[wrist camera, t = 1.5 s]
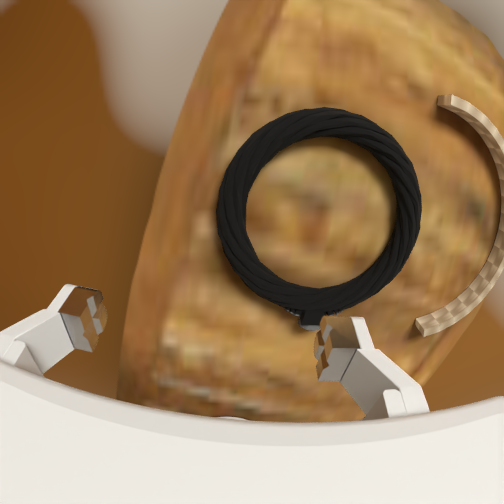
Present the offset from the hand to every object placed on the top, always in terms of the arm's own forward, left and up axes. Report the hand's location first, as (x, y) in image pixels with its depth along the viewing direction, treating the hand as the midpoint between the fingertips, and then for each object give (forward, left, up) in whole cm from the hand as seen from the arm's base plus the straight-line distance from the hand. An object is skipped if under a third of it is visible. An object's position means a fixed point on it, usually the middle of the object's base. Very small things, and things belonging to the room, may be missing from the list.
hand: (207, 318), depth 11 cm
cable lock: (-6, -10, -30) cm, 32 cm away
